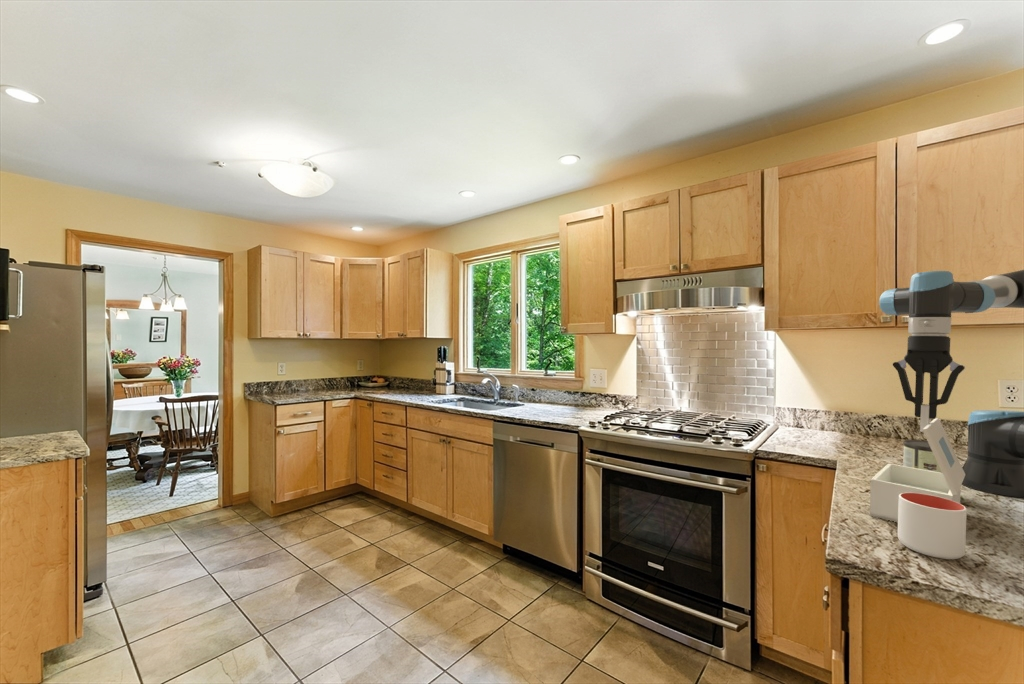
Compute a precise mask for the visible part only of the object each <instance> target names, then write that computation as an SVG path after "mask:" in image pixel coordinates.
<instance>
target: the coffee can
mask: <svg viewBox="0 0 1024 684" xmlns="http://www.w3.org/2000/svg"><path fill="white" fill-rule="evenodd" d="M902 443H903V452H902V453H903V458H902V459H903V460H902V461H903V462H902V466H906V467H912V468H917V469H923V470H928V471H934V472H940V473H942V471H941V469H940V467H939V465H938V463H937V461H936V458H935V456H934V454H933V452H932V450H931V448H930V445H929V443H928V441H926V440H920V439H919V440H918V439H906V440H903V441H902ZM953 449H954V450H955V448H954V447H953Z"/></svg>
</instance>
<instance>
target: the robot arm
mask: <svg viewBox="0 0 1024 684" xmlns="http://www.w3.org/2000/svg"><path fill="white" fill-rule="evenodd" d="M878 300H879V301H878V302H879V309H880V310H881V312H883V313H884V314H885V315H888V316H908V323H907V324H908V327H907V329H908V330H907V333H908V334H910V335H909V336H908V337H907V349H906V354H904V358H903V359H901V360H898V361H895V362H892V366H893V368H895V370H896V371H897V373H898V374H897V375H898V377H899V380H900V384H901V387H902V393H903V395H904V399H905V400H906V401H908V402H911V403H913V405H914V416H915V418H920V423H919V432H920V433H924V432H923V430H922V429H923V428H924V427H926V426H927V425H928V424H929V423H930V422H931V420H934V419H936V418H937V413H938V412H937V408H938V406H940V405H945V404H947V403H948V402H949V399H950V397H951V395H952V392H953V390H954V387H955V384H956V382H957V379H958V377H959V375H960V374H961V373H962V372H963V371H964V370H965V369H966V366H964V365H963V364H960V363H957V362H956V361H954V360H953V357H952V356H951V337H950V336H948V335H950V334H952V333H951V332H952V314H954V313H956V314H957V313H962V314H963V313H965V314H975V313H976V314H977V313H982V312H984V311H987V310H988V309H1001V308H1003V309H1004V308H1008V309H1009V308H1010V309H1024V269H1021V270H1016V271H1011V272H1007V273H1002V274H993V275H989V276H986V277H985V278H983V279H979V280H970V281H954V273H952V271H949V270H932V271H931V270H930V271H920V272H915V273H914V274H913V275H912V276H911V277H910V283H909V286H908V287H897V288H891V289H888V290H885V291H883V292H882V293H881V295H880V296H879V299H878ZM907 364H908V366H909V367H910V368H911V369H912V370H913V371H914V372H915V387H914V390H915V391H914V396H913V392H912V387H911V385H910V381H909V378H908V375H907V371H906V368H907ZM948 366H949V371H950V374H949V376H948V379H947V381H946V384H945V386H944V389H943V391H942V394H941V395H940V398H939V399H938V393H939V376H940V374H939V373H942V372H943V371H944V370H945V369H946V368H947V367H948ZM925 373H927V374H929V394H928V395H929V396H928V397H929V398H928V404H927V403H926V404H925V403H924V385H925V384H924V381H925ZM967 427H968V428H967V456H966V460H965V461H964V463H963V466H962V468H963V470H964V472H965V474H966V475H965V477H964V480H963V482H962V484H961V486H962V485H963V486H965V487H968V488H971V489H973V490H977V491H980V492H986V493H989V494H995V495H999V496H1007V497H1016V498H1024V411H1022V410H1021V411H1020V410H987V409H986V410H982V409H981V410H973V411H970V413H969V416H968V422H967Z"/></svg>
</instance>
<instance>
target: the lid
mask: <svg viewBox="0 0 1024 684" xmlns="http://www.w3.org/2000/svg"><path fill="white" fill-rule="evenodd" d="M922 430H923V432H922V433H923V435H924V436H925V439H926V440H927V441H928V443H929V445H930V448H931V450H932V452H933V454H934V456H935V458H936V461H937V463H938V465H939V467H940V469H941V471H942V474H943V476H944V478H945V480H946V482H947V484H948V487H949V489H950V491H951V493H952V495H957V494H958V492H959V489H960V487H961V486H962V482H963V480H964V477H965V475H966V474H965V472H964V470H963V468H962V467H963V466H962V464H961V462H960V460H959V458H958V456H957V454H956V452H955V448H954V447H953V445H952V443H951V441H950V439H949V436H948V435H947V433H946V430H945V428H944V426H943V424H942V422H941V419H940V418H938V417H936V418H935V419H931V420H930V423H929V424H928V425H927V426H926V427H924V428H923V429H922ZM953 448H954V449H953ZM961 488H962V487H961Z"/></svg>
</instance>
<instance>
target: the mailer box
mask: <svg viewBox="0 0 1024 684" xmlns="http://www.w3.org/2000/svg"><path fill="white" fill-rule="evenodd" d="M961 488H962V487H960V489H959V492H958V494H957V495H952V493H951V491H950V489H949V487H948V484H947V482H946V480H945V478H944V476H943V474H942V473H940V472H934V471H928V470H923V469H917V468H912V467H906V466H903V465H899V464H894V463H888V462H887V464H886V465H885V466H884V467H882V468H881V469H880V470H879V471H878V472H877V473H876V474H875V475H874V476H873V477H871V479H870V491H869V492H870V494H869V516H870V515H871V516H870V517H872V516H874V517H873V518H876V517H878V518H877V519H880V518H882V519H881V520H884V519H887V520H886V521H888V520H890V521H889V522H892V521H894V522H893V523H895V522H897V523H896V524H898V503H899V494H901V493H920V494H927V495H932V496H937V497H941V498H945V499H948V500H952V501H954V502H957V503H959V504H961V495H962V494H961V490H962V489H961Z"/></svg>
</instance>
